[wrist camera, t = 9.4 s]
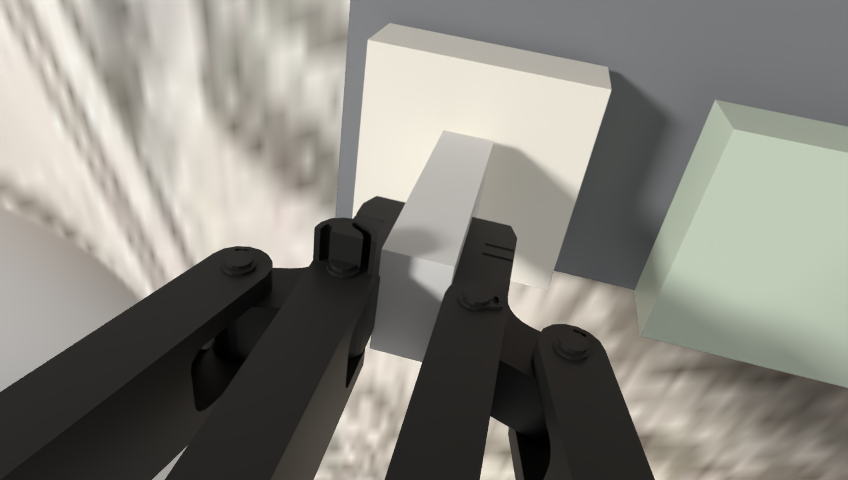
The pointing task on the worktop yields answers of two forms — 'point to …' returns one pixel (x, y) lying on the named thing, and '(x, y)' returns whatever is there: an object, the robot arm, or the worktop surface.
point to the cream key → (483, 129)
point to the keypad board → (634, 92)
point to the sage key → (756, 246)
